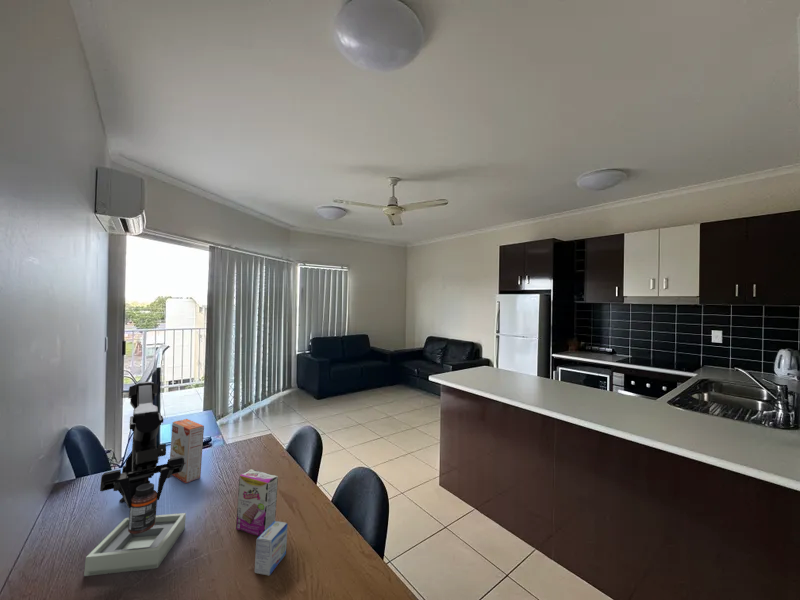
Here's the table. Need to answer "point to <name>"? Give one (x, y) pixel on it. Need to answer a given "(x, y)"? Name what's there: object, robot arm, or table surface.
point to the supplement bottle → (143, 509)
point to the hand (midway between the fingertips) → (144, 503)
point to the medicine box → (270, 548)
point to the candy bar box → (256, 501)
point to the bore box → (135, 546)
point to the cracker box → (187, 448)
